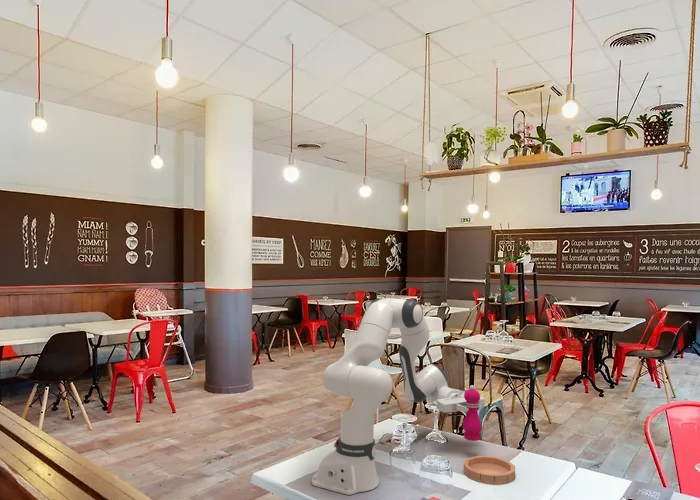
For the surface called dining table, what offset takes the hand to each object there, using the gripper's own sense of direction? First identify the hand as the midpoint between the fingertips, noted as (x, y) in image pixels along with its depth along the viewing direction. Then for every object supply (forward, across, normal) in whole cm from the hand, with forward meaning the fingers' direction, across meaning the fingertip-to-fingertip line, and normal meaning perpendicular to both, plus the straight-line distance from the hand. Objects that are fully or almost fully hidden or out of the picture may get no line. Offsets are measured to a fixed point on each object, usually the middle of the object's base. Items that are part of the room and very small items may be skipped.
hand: (473, 408), depth 186 cm
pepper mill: (-1, 0, +12) cm, 12 cm away
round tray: (+15, -5, +18) cm, 24 cm away
